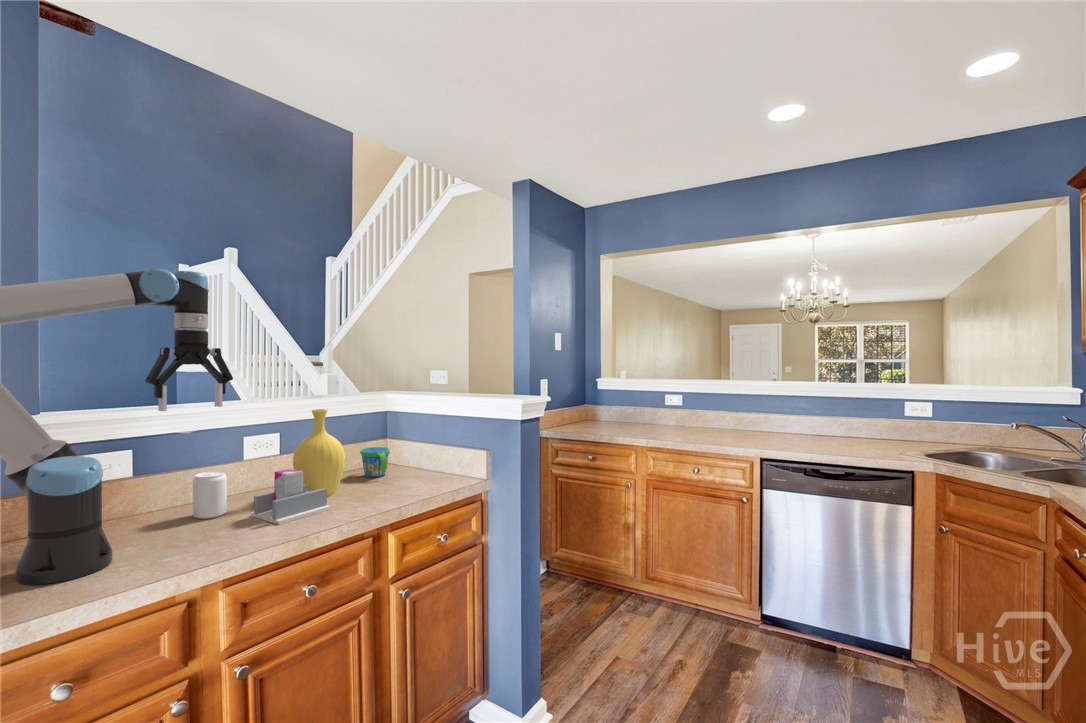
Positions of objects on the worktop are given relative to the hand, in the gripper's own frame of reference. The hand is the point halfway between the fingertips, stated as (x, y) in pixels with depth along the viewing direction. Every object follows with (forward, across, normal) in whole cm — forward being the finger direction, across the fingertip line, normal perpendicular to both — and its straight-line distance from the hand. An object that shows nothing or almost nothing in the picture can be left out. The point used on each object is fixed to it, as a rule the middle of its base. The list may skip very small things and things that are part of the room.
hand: (191, 408), depth 137 cm
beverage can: (+32, +7, +5) cm, 33 cm away
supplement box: (+31, +20, -12) cm, 39 cm away
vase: (+32, +38, -1) cm, 50 cm away
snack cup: (+32, +65, +3) cm, 72 cm away
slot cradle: (+32, +21, -12) cm, 40 cm away
